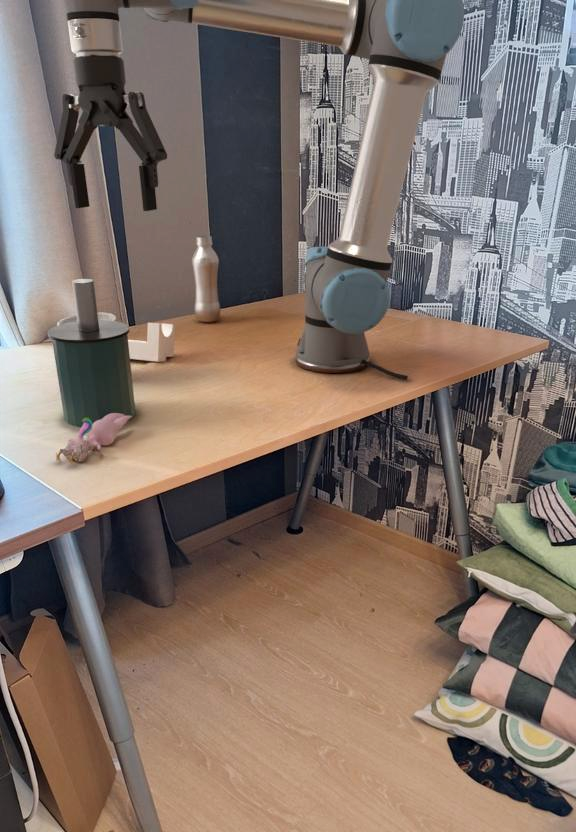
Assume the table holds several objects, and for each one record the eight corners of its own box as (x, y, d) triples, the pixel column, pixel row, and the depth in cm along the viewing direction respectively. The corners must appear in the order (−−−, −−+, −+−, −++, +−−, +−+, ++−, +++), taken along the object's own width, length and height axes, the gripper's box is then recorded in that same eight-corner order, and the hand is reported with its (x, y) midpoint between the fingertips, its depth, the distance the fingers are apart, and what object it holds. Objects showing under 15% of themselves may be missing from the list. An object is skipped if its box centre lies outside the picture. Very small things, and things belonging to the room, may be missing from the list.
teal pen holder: (149, 412, 124) (141, 328, 117) (105, 436, 114) (93, 346, 108) (96, 402, 128) (86, 320, 121) (50, 424, 119) (35, 336, 112)
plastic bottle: (207, 316, 184) (203, 233, 175) (226, 321, 181) (223, 236, 171) (189, 321, 180) (183, 236, 170) (208, 325, 176) (204, 239, 167)
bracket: (173, 361, 153) (174, 324, 152) (157, 361, 147) (159, 323, 145) (119, 355, 157) (120, 319, 155) (101, 355, 150) (102, 318, 149)
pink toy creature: (83, 477, 104) (145, 428, 114) (73, 442, 101) (138, 394, 111) (51, 469, 107) (114, 421, 117) (40, 434, 103) (106, 388, 113)
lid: (146, 332, 117) (140, 277, 113) (94, 351, 107) (87, 292, 103) (85, 323, 122) (78, 270, 118) (31, 341, 112) (21, 284, 108)
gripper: (16, 58, 110) (40, 208, 120) (152, 50, 100) (166, 214, 110) (49, 61, 115) (70, 204, 126) (181, 53, 106) (192, 208, 116)
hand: (115, 209), depth 118 cm, fingers open, 13 cm apart
